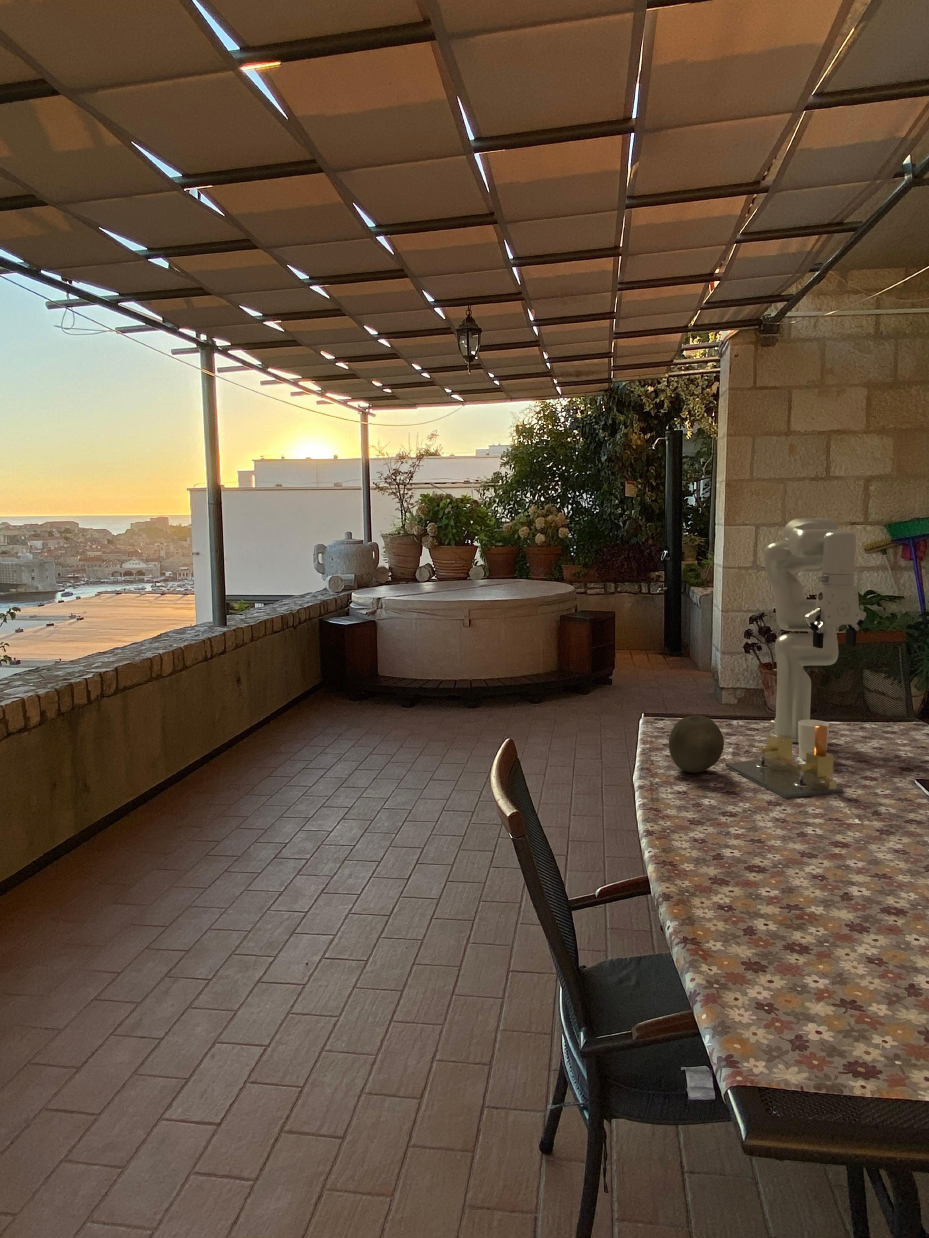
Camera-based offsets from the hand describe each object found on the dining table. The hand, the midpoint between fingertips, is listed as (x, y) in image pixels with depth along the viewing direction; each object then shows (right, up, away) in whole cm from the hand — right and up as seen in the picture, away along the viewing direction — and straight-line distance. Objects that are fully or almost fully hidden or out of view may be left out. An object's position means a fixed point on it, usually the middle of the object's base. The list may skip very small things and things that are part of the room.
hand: (834, 646), depth 214 cm
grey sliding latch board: (-14, -34, -2) cm, 37 cm away
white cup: (+1, -32, +15) cm, 35 cm away
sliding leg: (-9, -33, -9) cm, 36 cm away
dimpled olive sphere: (-35, -34, +4) cm, 48 cm away
